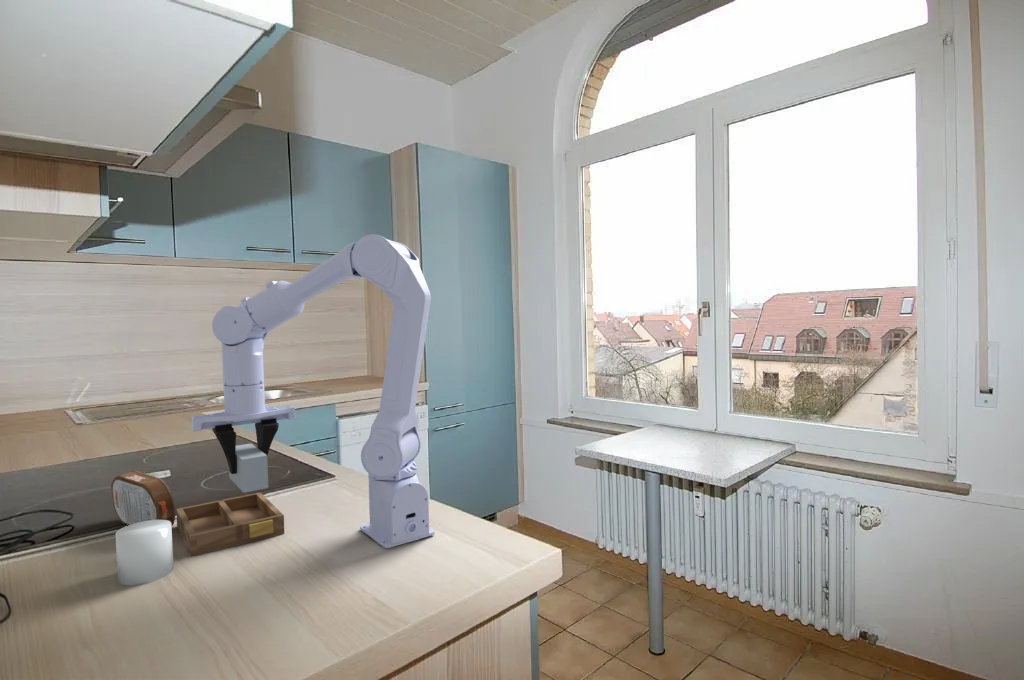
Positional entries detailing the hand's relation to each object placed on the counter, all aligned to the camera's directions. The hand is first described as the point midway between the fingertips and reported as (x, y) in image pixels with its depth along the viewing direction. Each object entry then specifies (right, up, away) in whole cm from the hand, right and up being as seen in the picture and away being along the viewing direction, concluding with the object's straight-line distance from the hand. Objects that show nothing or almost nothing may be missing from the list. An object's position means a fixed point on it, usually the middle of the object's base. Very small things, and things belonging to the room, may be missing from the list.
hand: (247, 469), depth 87 cm
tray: (-2, -9, -1) cm, 9 cm away
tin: (-17, -9, 0) cm, 19 cm away
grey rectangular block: (0, -2, 0) cm, 2 cm away
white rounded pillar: (-6, -10, -15) cm, 19 cm away
